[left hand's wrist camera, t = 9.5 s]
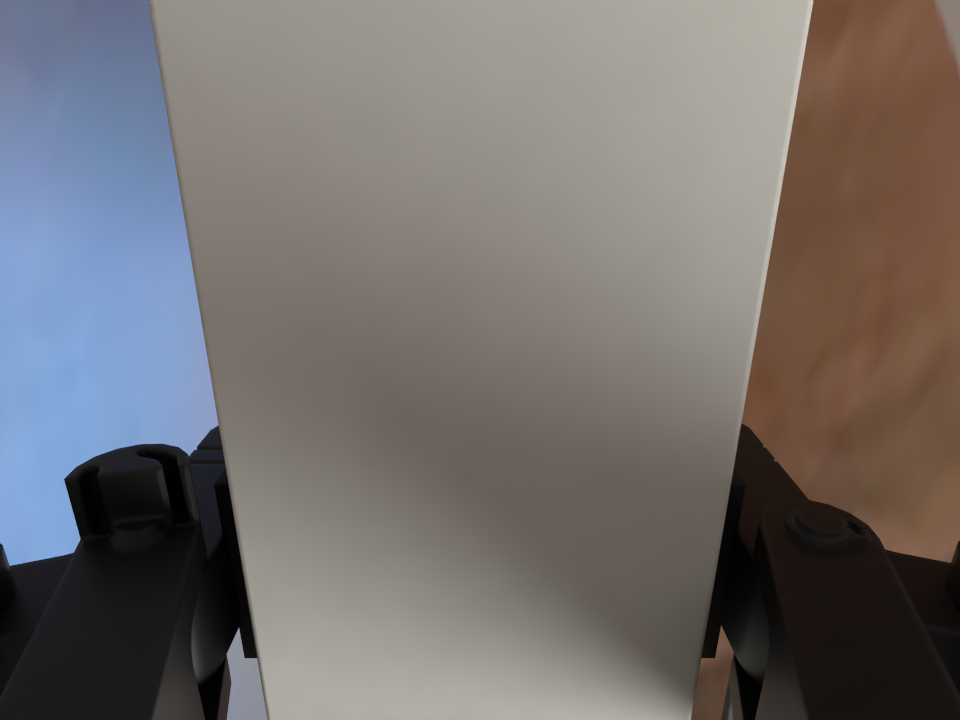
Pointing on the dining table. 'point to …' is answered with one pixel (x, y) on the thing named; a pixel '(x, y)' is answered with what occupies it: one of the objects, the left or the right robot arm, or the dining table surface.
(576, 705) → the bar
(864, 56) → the dining table surface
